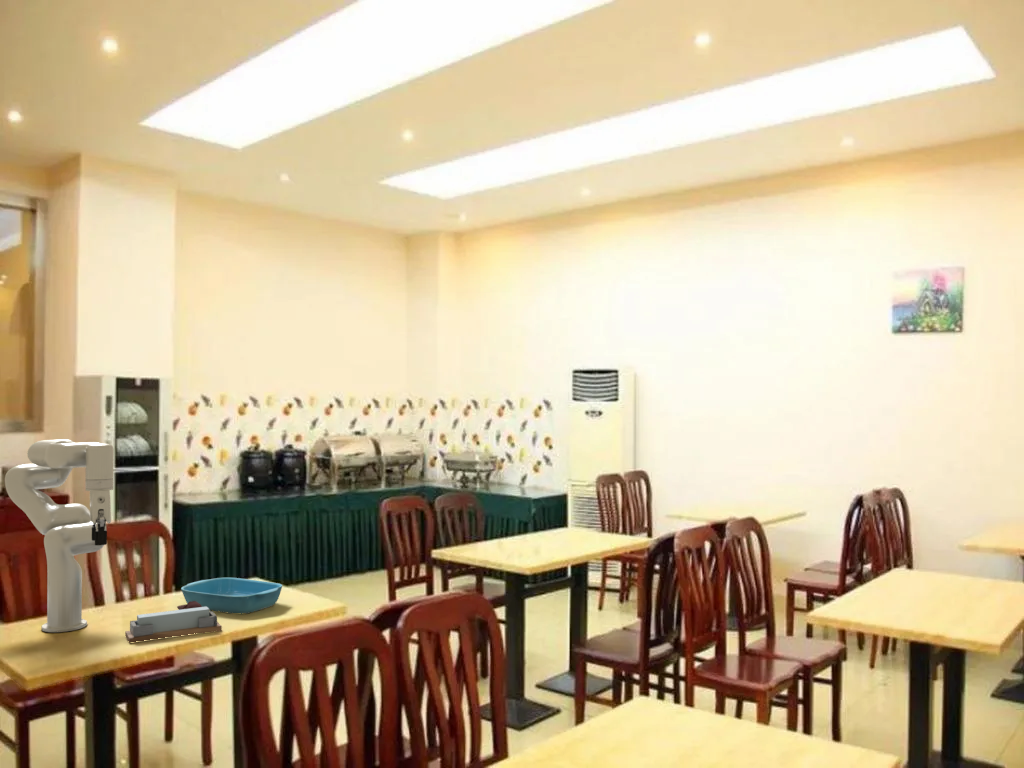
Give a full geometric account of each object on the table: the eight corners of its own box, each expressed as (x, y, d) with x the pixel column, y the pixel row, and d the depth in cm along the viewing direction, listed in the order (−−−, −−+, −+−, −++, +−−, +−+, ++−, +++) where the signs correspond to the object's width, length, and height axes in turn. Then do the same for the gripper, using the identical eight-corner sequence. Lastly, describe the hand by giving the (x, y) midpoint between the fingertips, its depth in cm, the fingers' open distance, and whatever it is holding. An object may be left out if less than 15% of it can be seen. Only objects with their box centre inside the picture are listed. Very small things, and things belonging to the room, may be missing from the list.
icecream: (165, 602, 272) (194, 612, 264) (185, 591, 278) (214, 602, 270) (169, 621, 274) (197, 632, 266) (189, 611, 280) (217, 622, 271)
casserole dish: (168, 607, 293) (168, 586, 293) (218, 593, 312) (218, 574, 312) (247, 620, 275) (247, 597, 275) (295, 605, 295) (295, 584, 295)
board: (125, 636, 256) (125, 631, 256) (215, 624, 269) (215, 619, 269) (129, 643, 248) (129, 638, 248) (221, 630, 262) (221, 626, 262)
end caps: (130, 631, 256) (130, 621, 256) (211, 620, 268) (211, 610, 268) (133, 637, 249) (133, 626, 249) (217, 626, 262) (217, 616, 262)
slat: (136, 631, 255) (137, 614, 255) (206, 622, 266) (206, 606, 266) (138, 634, 252) (138, 617, 252) (209, 625, 262) (209, 609, 262)
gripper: (116, 486, 250) (116, 545, 249) (110, 482, 264) (109, 537, 264) (88, 488, 246) (87, 548, 246) (83, 483, 261) (82, 539, 260)
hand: (99, 542), depth 255 cm, fingers open, 9 cm apart
